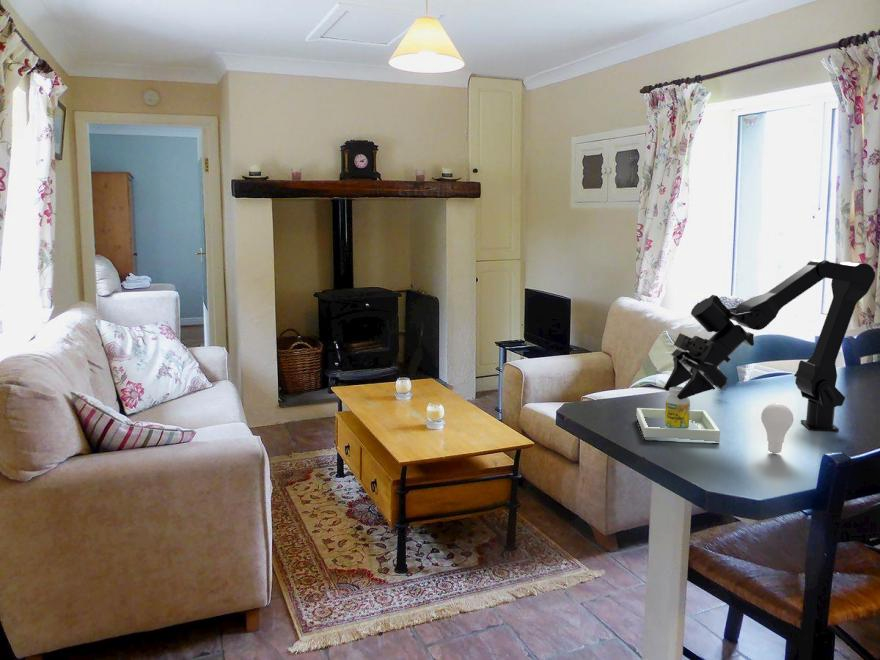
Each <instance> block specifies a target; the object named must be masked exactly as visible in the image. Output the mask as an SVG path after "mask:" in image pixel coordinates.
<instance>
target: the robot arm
mask: <svg viewBox="0 0 880 660" xmlns="http://www.w3.org/2000/svg"><path fill="white" fill-rule="evenodd" d="M875 278H876V271H875V270H874V268H873V267H872V265H870V264H869V263H864V262H857V261H848V260H845V261H842V262H840V263H838V262H837V263H836V262H831V261H829V260H825V259H819V258H818V259H817V258H816V259H815V258H814V259H812V260H810V261H808V262H807V263H806V265H805V266H802V268H800V269H799V270H798V271H796V272H795V273H793V274H792V275H790V276H789V277H787V278H786V279H785V280H783V281H781V282H780V283H778V285H776V286H775V287H773V288H772V289H770V290H768V291H767V292H765V293H763V294H760V295H757V296H753V297H750V298H748V299H747V300H744V301H743V302H741V303H738V305H737V306H734V307H730V308H729V307H727V306H726V305H725V304H724V302H723V301H722V300H721V298H720V297H719V296H718V295H714V294H711V296H709V297H707V298H704V299H703V300H702V301H700V302H697V303H696V304H695V305H694V307H693V308H692V309H691V312H690V314H691V316H692V317H693V318H694V319H695V320H696V321H697V322H698V323H699V324H700V326H702V328H704V330H705V331H706V332H707V333H712V332H713V333H714V334H713V335H712V336H711V337H710V338H709V339H706V338H702V337H701V336H698V335H694V336H693V337H690V336H689V335H688V336H687V335H686V334H683V333H681V332H680V333H679V334H678V335H677V338H676V340H675V342H674V344H673V346H675V347H676V348H677V347H678V348H677V349H674V351H673V352H672V353H671V357H672V361H673V370H672V372H671V374H670V375H669V377H668V379H667V381H666V382H665V385H664V386H663V388H664V390H665V391H667V392H669V388H670V387H679V385H682V384H683V383H686V382H687V383H686V384H685V385H684V386H683V389H682V390H681V391H680V392H679V394H678V395H677V397H678V398H679V399H680V400H681V399H684V398H687V397H688V398H689V397H692V396H695V395H698V394H701V393H703V392H708V391H712V390H713V391H714V390H715V389H716V388H717V389H719V390H723V389H724V387H725V386H727V385H728V377H727V376H726V375H725V374H724V372H722V371H721V370H720V369H719V367H720V366H721V365H722V364H723V363H724V362H725V363H729V362H730V361H731V358H730V356H731V355H732V354H733V353H734V352H735V351H736V350H737V349H738V348H739V347H740V346H741V345H743V344H745V345H748V346H751V347H752V346H755V340H754V336H755V334H754V333H752V332H747V331H746V330H745V329H744V327H745V328H748V329H751V330H755V331H760V330H761V331H762V330H763V329H765V328H766V327H767V326H769V324H770V323H771V322H773V320H775V319H776V317H777V315H778V314H779V312H780V310H781V309H782V308H783V307H785V306H786V305H788V304H789V303H790V302H792V301H793V300H794V299H796V298H798V297H799V296H801V295H802V294H804V293H805V292H807V291H808V290H810V289H811V288H812V287H814V286H815V285H816V284H818V283H820V282H821V281H822V280H824V279H831V283H830V285H831V291H832V300H831V303H830V306H829V308H828V311H827V313H826V317H825V320H824V323H823V326H822V328H821V331H820V333H819V336H818V339H817V343H816V345H815V347H814V350H813V354H812V355H811V357H809V358H808V360H806V361H804V360H803V359H801V360H800V361H799V363H798V367H797V371H796V372H795V373H794V375H793V376H794V377H795V385H796V387H797V389H798V390H799V391H800V394H801V397H802V398H805V399H807V407H806V408H807V409H806V416H805V417H806V419H801V420H800V423H801V424H802V425H804V427H806V428H807V429H808V430H811V431H836V432H837V431H840V428H839V427H837V426H836V425H835V424H834V423H835V410H836V407H842V406H843V404H844V402H845V400H846V397H845V396H844V395H843V394H842V392H841V391H840V390H839V389H838V388H837V386H836V385H837V379H838V372H837V367H836V361H837V359H838V355H839V353H840V351H841V348H842V345H843V342H844V339H845V336H846V333H847V331H848V327H849V325H850V323H851V320H852V318H853V314H854V311H855V308H856V307H857V304H858V303H859V301H860V300H862V299H863V298H864V297H865V296H866V295H867V294H868V293H869V291H870V289H871V287H872V285H873V283H874V282H875V280H876V279H875ZM732 321H734V322H736V323H737V324H734V323H733V322H732Z"/></svg>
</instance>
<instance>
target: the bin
mask: <svg viewBox="0 0 880 660" xmlns="http://www.w3.org/2000/svg"><path fill="white" fill-rule="evenodd" d="M665 409H666V408H650V407H649V408H647V407H646V408H645V407H643V408H642V407H637V408H636V416H637V419H638V421H639V424H640V426H641V429H642V431H643V434H644V437H664V438H678V439H690V440H704V441H715V442H719V443H720V439H721V430H720V429H719V428H718V426H717V424H716V423H715V422H714V420H713V419H712V418H711V417H710V414H708V412H707V411H706V410H701V409H690V416H689V420H692V421H691V422H692V424H693V421H695V425H696V426H697V423H698V428H699V429H685V428H660V427H648V425H647V423H646V421H645V418H644V417H648V418H665ZM701 427H702V428H703V429H701Z"/></svg>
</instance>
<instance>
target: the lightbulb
mask: <svg viewBox="0 0 880 660" xmlns="http://www.w3.org/2000/svg"><path fill="white" fill-rule="evenodd" d="M760 419H761V422H762V425H763V426H764V429H765V432H766V438H767V439H766V441H767V451H769V452H770V453H771V452H772V453H777V454H779V453H781V452H782V449H783V448H782V447H783V443H784V442H785V438H786V434H787V432H788V431H789V430H790V428H791V427H792V425H793V424H794V414H793V412H792V410H791V408H789V407H788V406H787V405H785V404H783V403H781V402H780V403H779V402H775V403H774V402H773V403H770V404H768V405H767V406H766V407H764V408H763V409H762V412H761V416H760ZM772 453H771V454H772Z"/></svg>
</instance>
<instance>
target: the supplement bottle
mask: <svg viewBox="0 0 880 660" xmlns="http://www.w3.org/2000/svg"><path fill="white" fill-rule="evenodd" d="M683 388H684V386H676V387H670V388H669V390H668V396H666V399H665V408H664V409H665V428H685V429H689V416H690V410H691V400H690V398H689V397H687V398H684V399H681V400H680V399H679V398H678V397H677V395H678V394H679V392H680V391H681V390H682V389H683Z"/></svg>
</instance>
